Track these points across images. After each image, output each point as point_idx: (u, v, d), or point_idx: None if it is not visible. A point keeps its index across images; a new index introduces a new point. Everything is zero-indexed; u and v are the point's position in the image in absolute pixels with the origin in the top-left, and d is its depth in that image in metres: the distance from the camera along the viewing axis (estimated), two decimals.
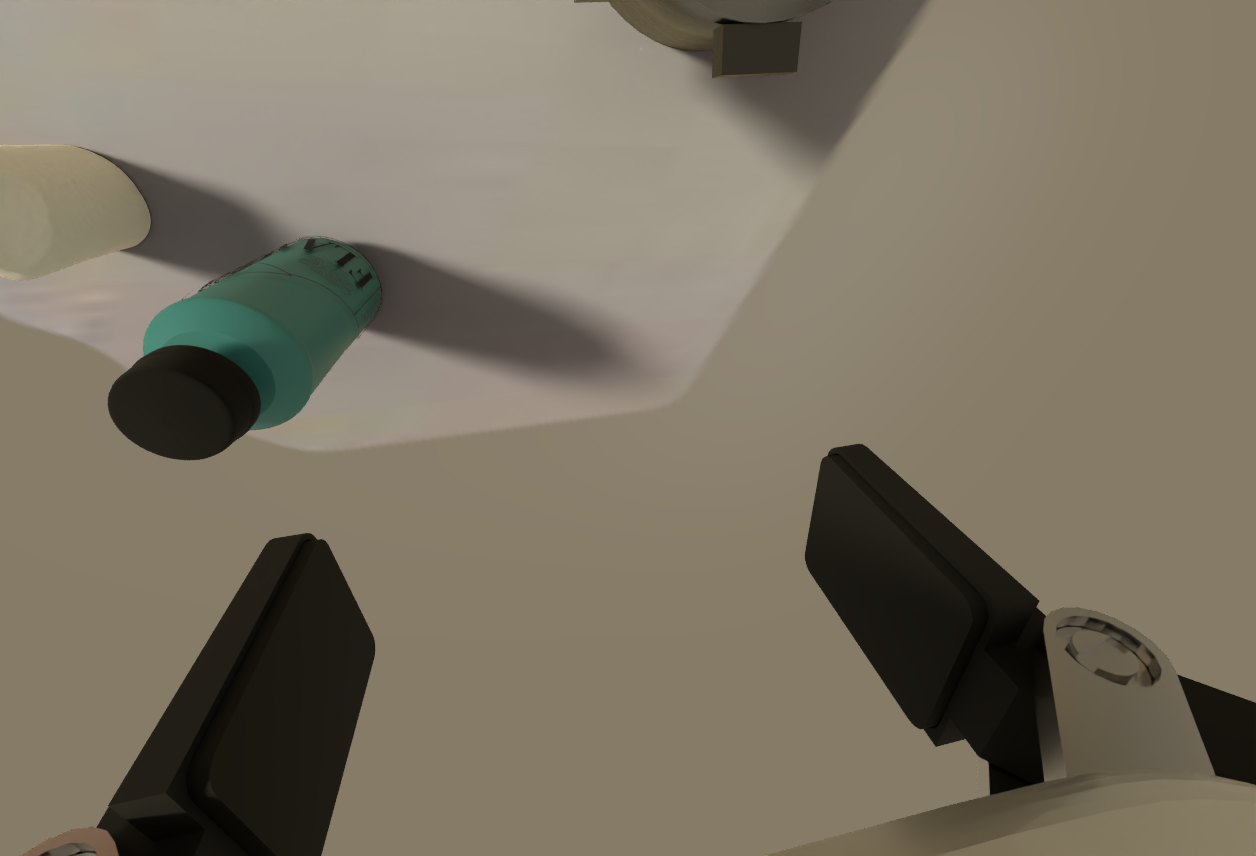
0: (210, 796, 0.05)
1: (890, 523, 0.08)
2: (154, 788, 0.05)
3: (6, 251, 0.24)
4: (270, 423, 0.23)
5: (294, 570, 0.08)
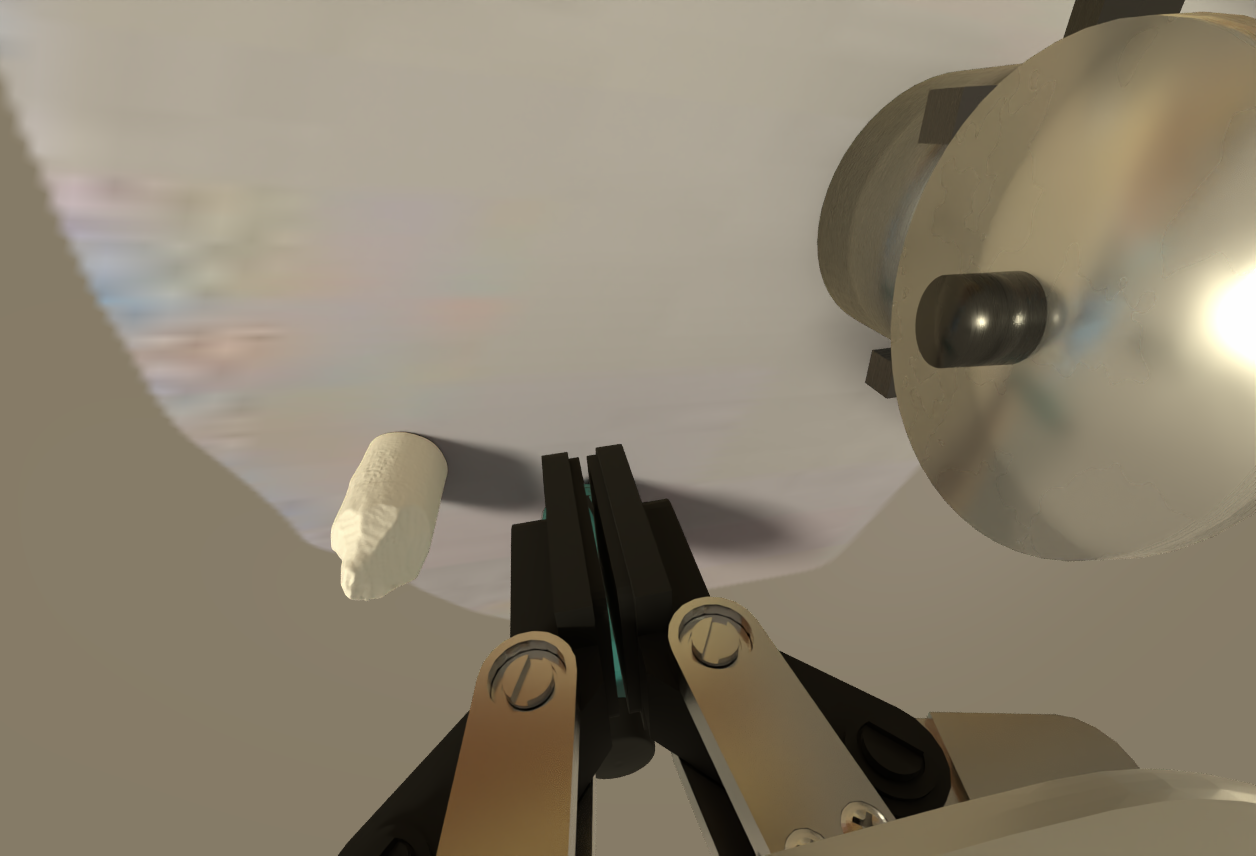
0: (603, 618, 0.07)
1: (602, 519, 0.08)
2: (579, 604, 0.07)
3: (408, 565, 0.30)
4: None
5: (575, 476, 0.09)
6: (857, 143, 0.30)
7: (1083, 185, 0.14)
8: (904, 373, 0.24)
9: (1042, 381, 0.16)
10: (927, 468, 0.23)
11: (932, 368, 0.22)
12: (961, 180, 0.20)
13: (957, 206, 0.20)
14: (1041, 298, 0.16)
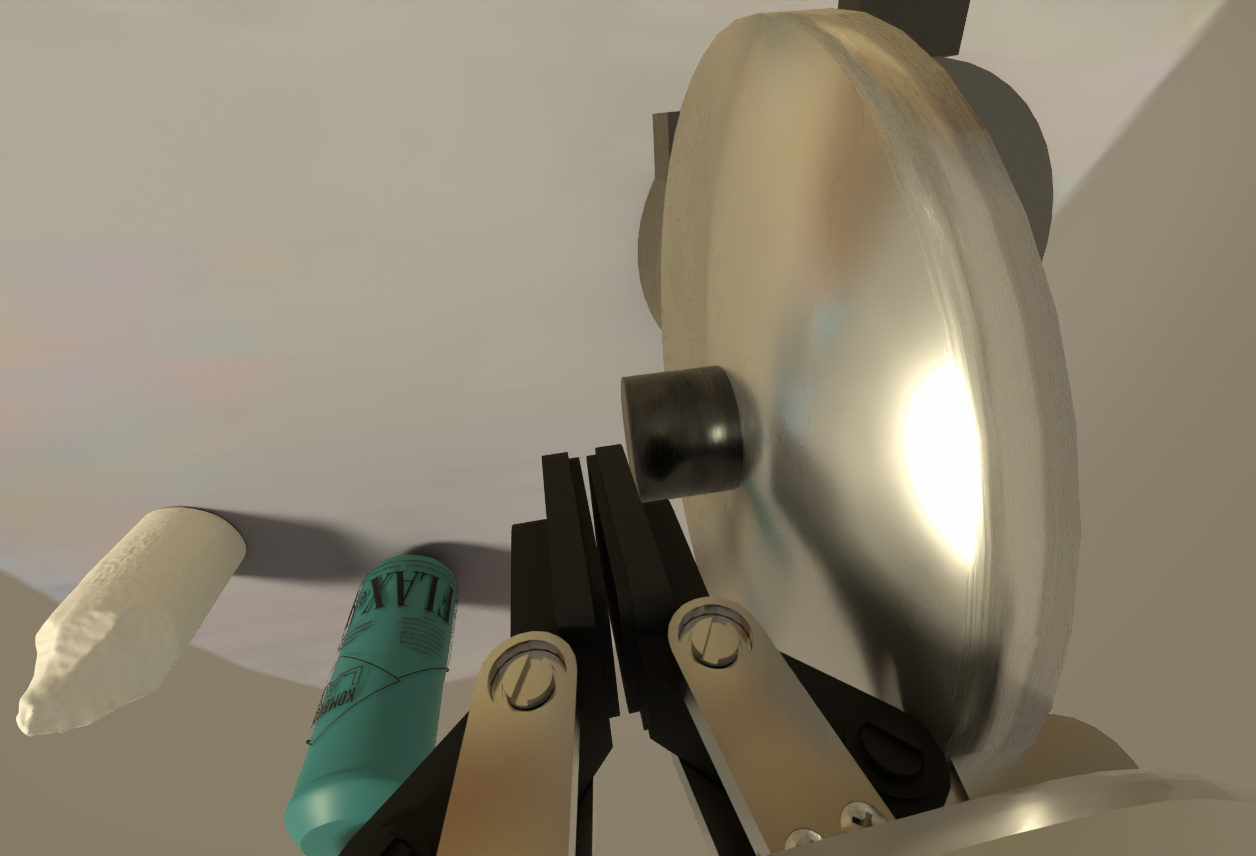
0: (604, 618, 0.07)
1: (602, 519, 0.08)
2: (579, 604, 0.07)
3: (142, 677, 0.25)
4: None
5: (576, 476, 0.09)
6: None
7: (742, 264, 0.10)
8: None
9: (750, 525, 0.12)
10: None
11: None
12: (677, 233, 0.15)
13: (679, 266, 0.15)
14: (736, 411, 0.11)
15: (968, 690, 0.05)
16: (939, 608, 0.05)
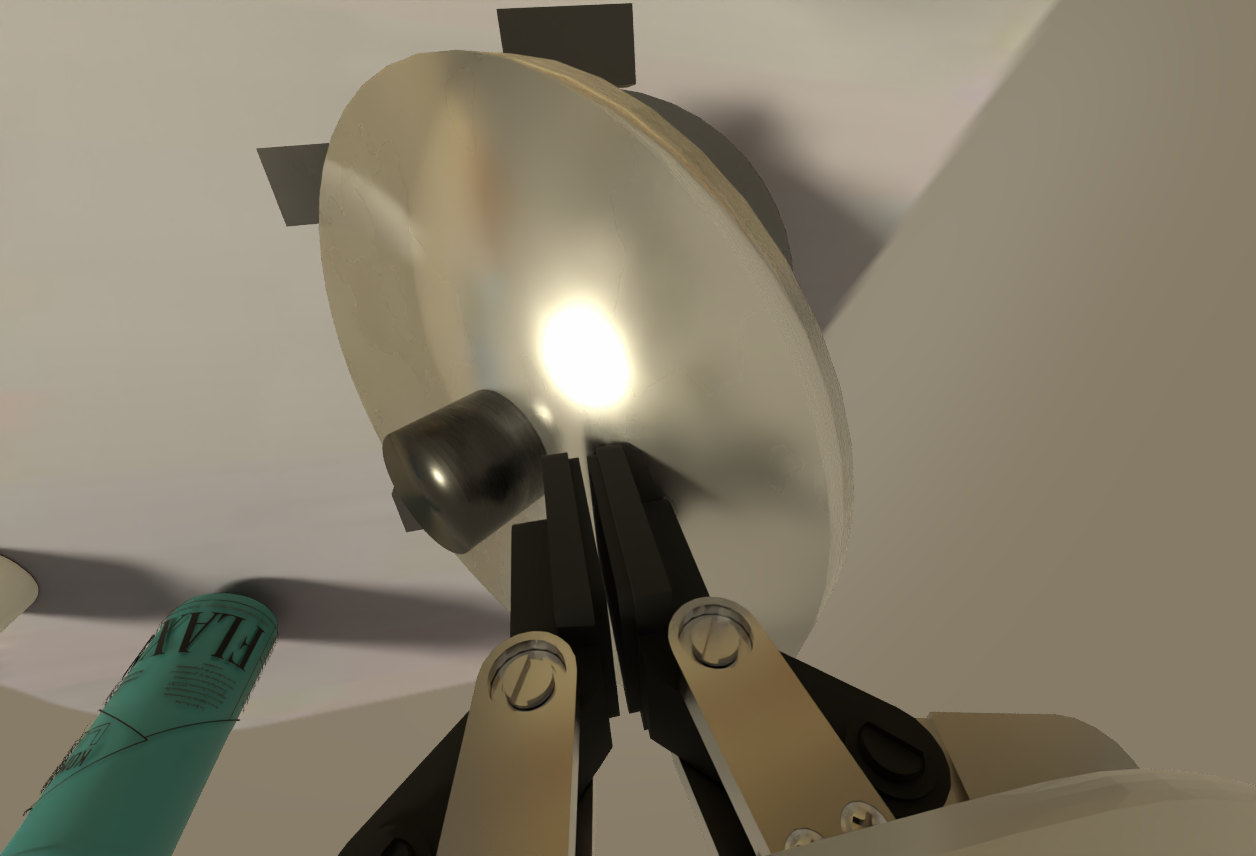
0: (603, 618, 0.07)
1: (602, 518, 0.08)
2: (579, 604, 0.07)
3: None
4: None
5: (575, 476, 0.09)
6: None
7: (496, 283, 0.10)
8: None
9: None
10: None
11: None
12: (360, 274, 0.14)
13: (374, 308, 0.14)
14: (525, 422, 0.12)
15: (831, 508, 0.08)
16: (801, 465, 0.08)
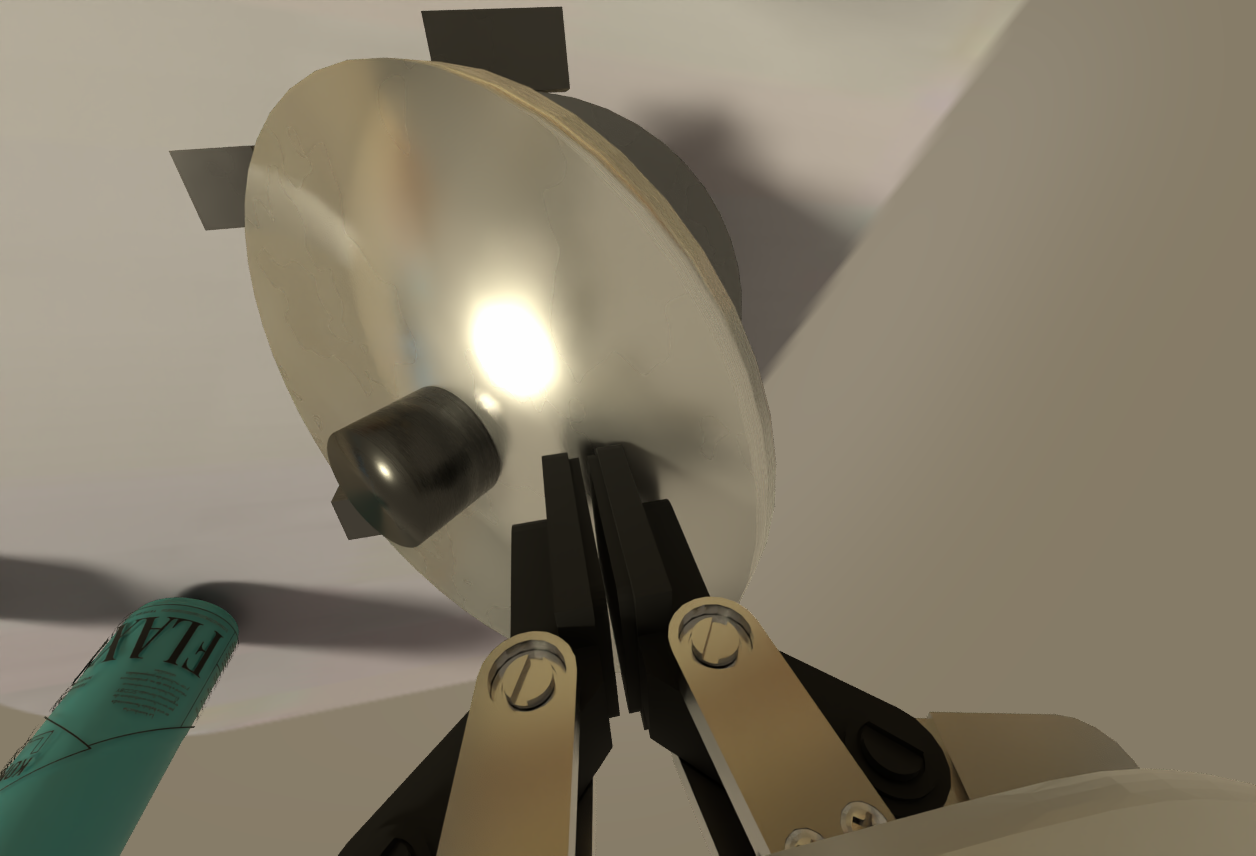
0: (603, 618, 0.07)
1: (602, 518, 0.08)
2: (579, 604, 0.07)
3: None
4: None
5: (576, 476, 0.09)
6: None
7: (436, 280, 0.11)
8: None
9: (527, 504, 0.13)
10: (471, 610, 0.18)
11: None
12: (292, 277, 0.14)
13: (309, 311, 0.14)
14: (472, 415, 0.12)
15: (755, 469, 0.09)
16: (727, 432, 0.09)
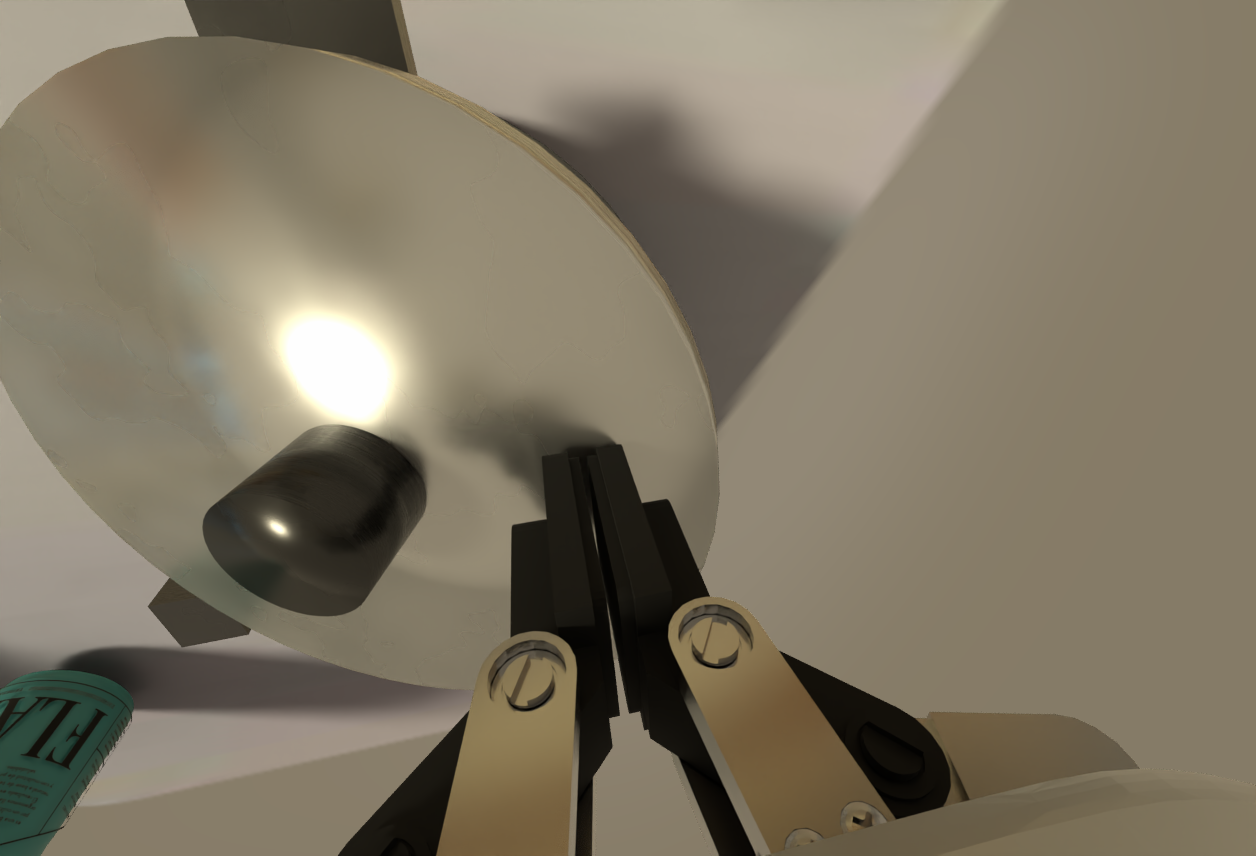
0: (603, 618, 0.07)
1: (602, 519, 0.08)
2: (579, 604, 0.07)
3: None
4: None
5: (575, 476, 0.09)
6: None
7: (325, 298, 0.09)
8: (246, 603, 0.15)
9: (465, 529, 0.12)
10: (393, 675, 0.16)
11: None
12: (71, 325, 0.10)
13: (106, 367, 0.11)
14: (384, 447, 0.11)
15: (713, 426, 0.10)
16: (687, 398, 0.09)
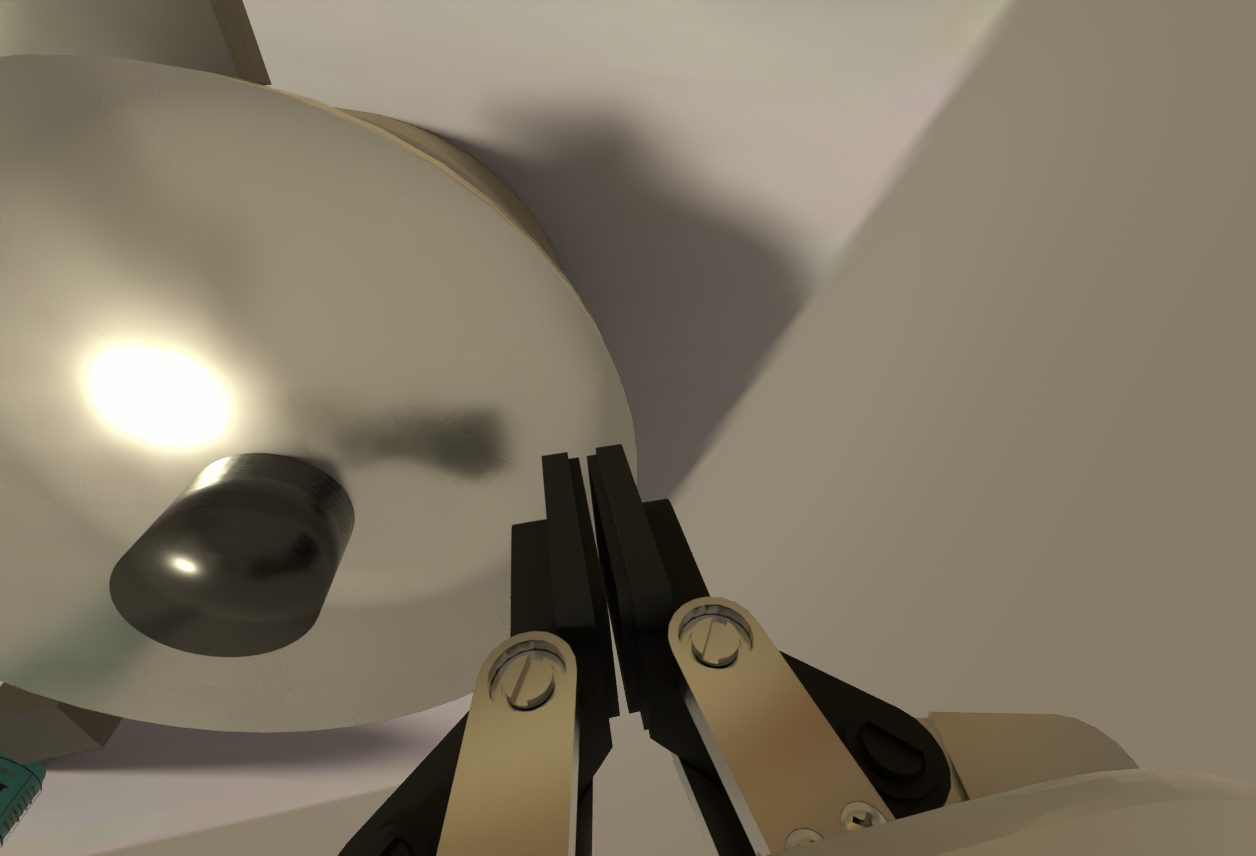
0: (603, 618, 0.07)
1: (602, 519, 0.08)
2: (579, 604, 0.07)
3: None
4: None
5: (575, 476, 0.09)
6: None
7: (230, 320, 0.09)
8: (125, 689, 0.13)
9: (399, 539, 0.12)
10: (322, 723, 0.15)
11: None
12: None
13: None
14: (305, 468, 0.11)
15: (625, 398, 0.12)
16: (603, 375, 0.11)
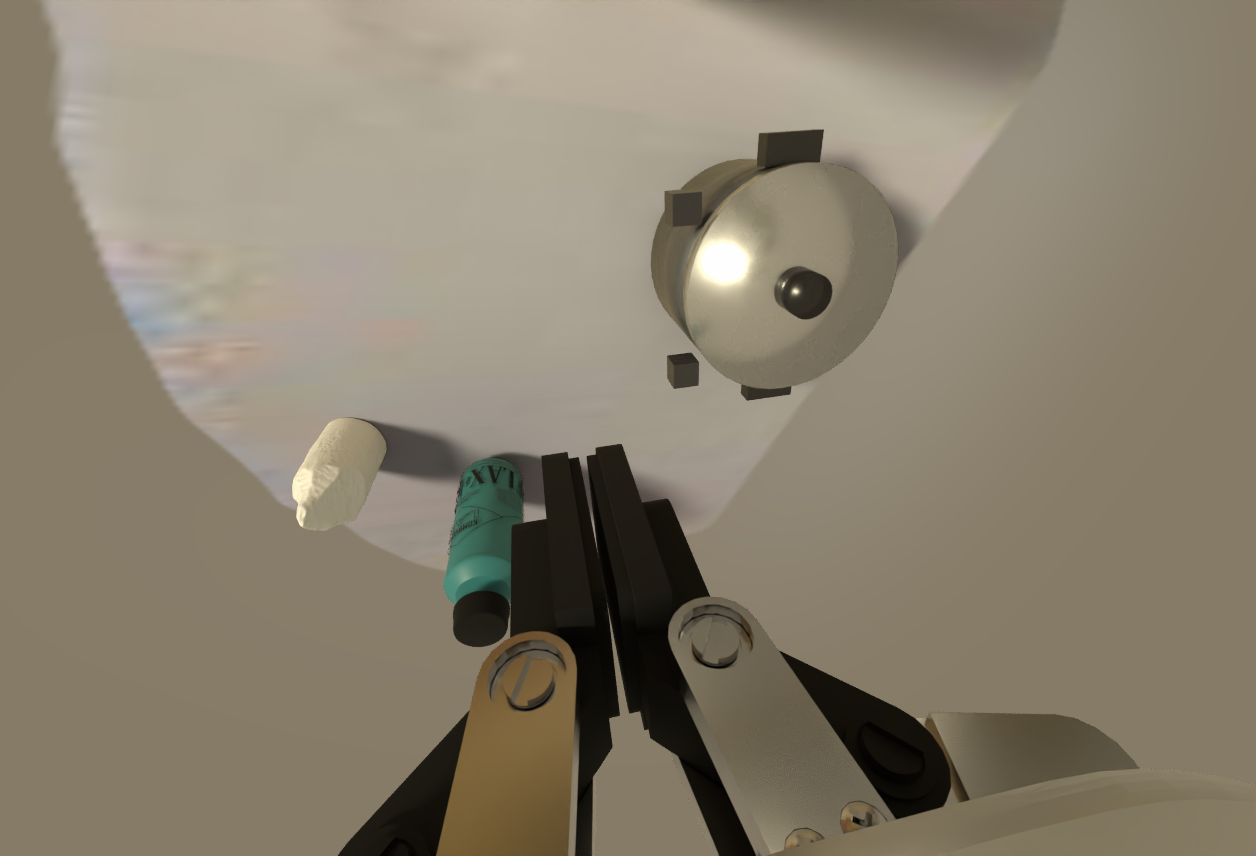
0: (603, 618, 0.07)
1: (602, 519, 0.08)
2: (579, 604, 0.07)
3: (348, 510, 0.42)
4: None
5: (575, 476, 0.09)
6: None
7: (814, 225, 0.35)
8: (723, 355, 0.39)
9: None
10: (764, 385, 0.41)
11: (748, 338, 0.38)
12: (733, 239, 0.34)
13: (735, 252, 0.35)
14: None
15: (896, 255, 0.37)
16: (893, 246, 0.37)
